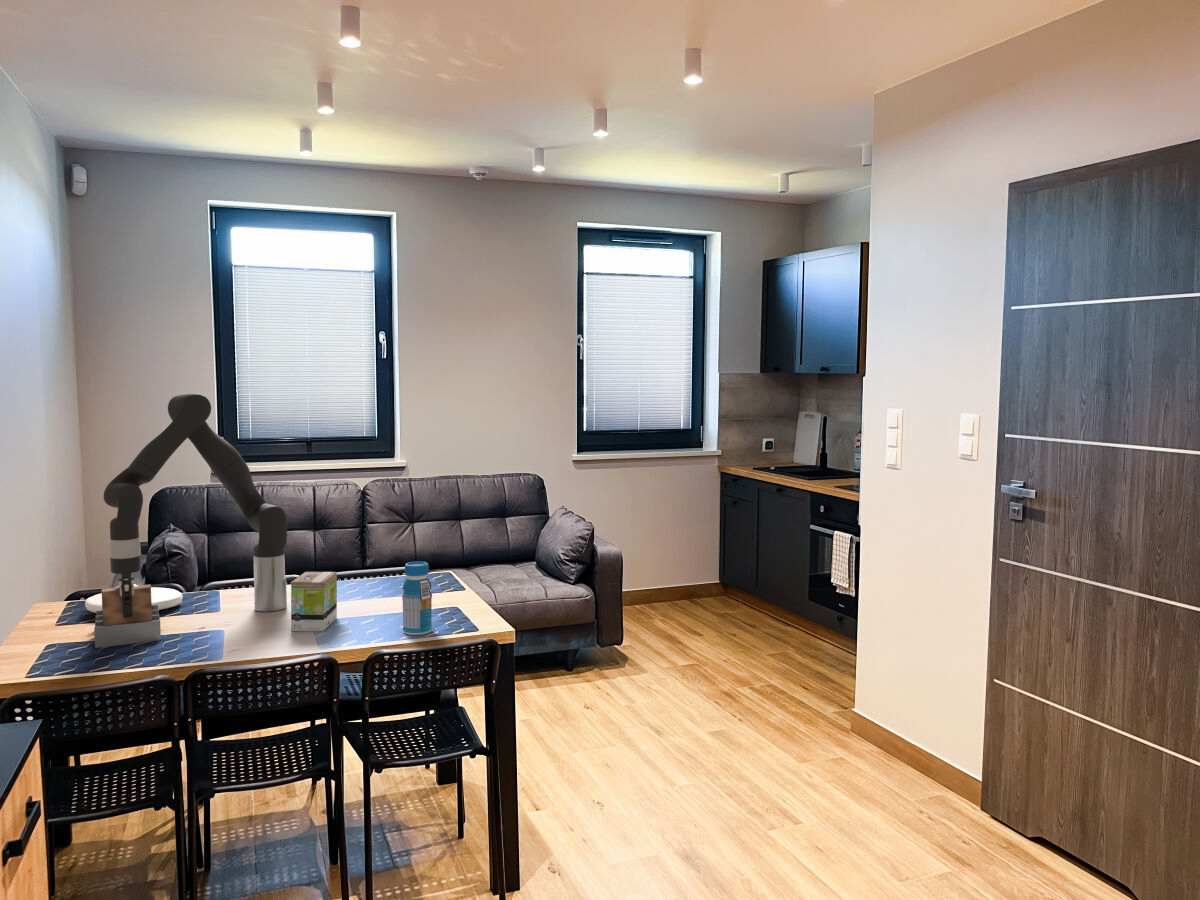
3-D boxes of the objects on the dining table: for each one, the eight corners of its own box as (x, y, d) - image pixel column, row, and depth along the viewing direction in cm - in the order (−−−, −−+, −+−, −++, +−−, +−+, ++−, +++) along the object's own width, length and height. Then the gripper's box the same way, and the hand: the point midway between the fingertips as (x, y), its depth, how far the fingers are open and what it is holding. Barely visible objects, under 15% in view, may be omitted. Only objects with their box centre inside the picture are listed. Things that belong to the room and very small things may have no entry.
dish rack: (158, 622, 267) (157, 579, 266) (160, 640, 250) (159, 593, 249) (97, 629, 260) (95, 584, 259) (95, 648, 242) (93, 599, 241)
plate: (130, 582, 299) (201, 587, 294) (129, 602, 299) (200, 607, 294) (64, 593, 272) (141, 598, 266) (63, 615, 272) (140, 620, 266)
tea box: (325, 632, 259) (324, 581, 258) (290, 632, 258) (289, 581, 257) (337, 618, 274) (337, 570, 273) (304, 618, 273) (303, 570, 272)
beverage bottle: (402, 636, 254) (401, 567, 253) (402, 628, 263) (402, 561, 261) (432, 635, 256) (431, 566, 254) (432, 627, 264) (431, 560, 263)
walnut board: (152, 626, 253) (150, 584, 252) (152, 629, 250) (150, 587, 249) (103, 631, 248) (101, 588, 247) (103, 635, 244) (101, 591, 243)
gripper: (141, 558, 243) (143, 620, 244) (140, 549, 255) (142, 608, 257) (109, 560, 239) (112, 623, 241) (110, 551, 252) (112, 611, 253)
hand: (127, 615), depth 249 cm, fingers closed on walnut board, 4 cm apart
